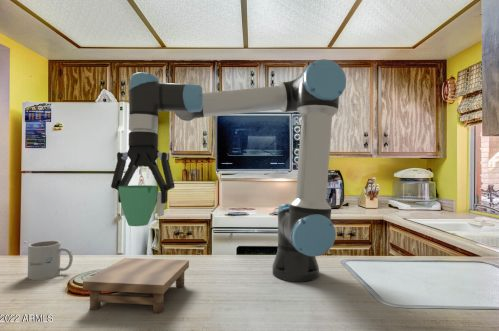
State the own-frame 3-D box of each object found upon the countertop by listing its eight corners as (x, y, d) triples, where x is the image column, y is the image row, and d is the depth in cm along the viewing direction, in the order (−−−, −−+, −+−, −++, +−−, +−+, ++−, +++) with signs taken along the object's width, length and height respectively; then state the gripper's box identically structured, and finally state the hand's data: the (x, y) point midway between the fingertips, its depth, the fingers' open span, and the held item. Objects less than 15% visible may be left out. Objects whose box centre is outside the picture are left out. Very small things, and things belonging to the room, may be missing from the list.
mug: (20, 280, 94) (21, 247, 94) (39, 270, 103) (40, 240, 103) (61, 280, 94) (62, 247, 94) (76, 270, 103) (77, 240, 103)
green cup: (148, 228, 75) (148, 187, 75) (110, 227, 76) (110, 187, 76) (169, 219, 90) (170, 184, 90) (137, 218, 91) (138, 184, 91)
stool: (188, 283, 92) (188, 260, 92) (163, 315, 72) (163, 285, 72) (124, 281, 94) (124, 257, 94) (82, 310, 74) (82, 281, 74)
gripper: (187, 133, 86) (186, 214, 86) (112, 134, 88) (111, 212, 88) (178, 130, 79) (177, 218, 78) (96, 130, 81) (95, 216, 81)
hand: (142, 215), depth 83 cm, fingers closed on green cup, 9 cm apart
